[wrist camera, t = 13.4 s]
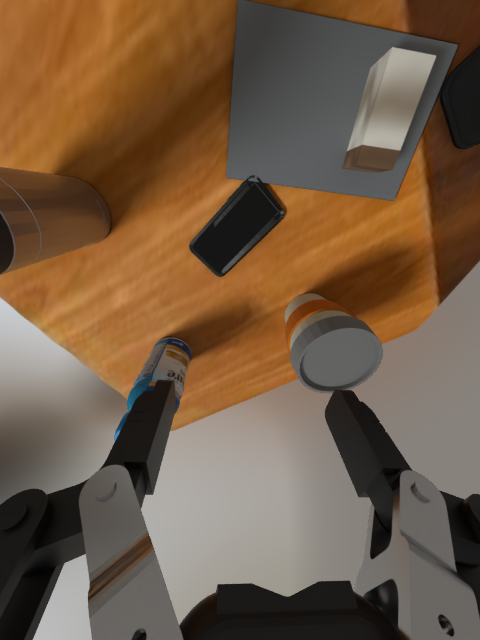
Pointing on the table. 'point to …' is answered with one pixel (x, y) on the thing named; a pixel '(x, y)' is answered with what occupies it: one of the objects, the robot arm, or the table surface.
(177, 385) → the beverage bottle
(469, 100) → the carrying case or bag
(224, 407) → the table surface
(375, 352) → the reusable coffee cup
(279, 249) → the table surface
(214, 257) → the phone
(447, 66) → the mat
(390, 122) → the tall grey rectangular block
